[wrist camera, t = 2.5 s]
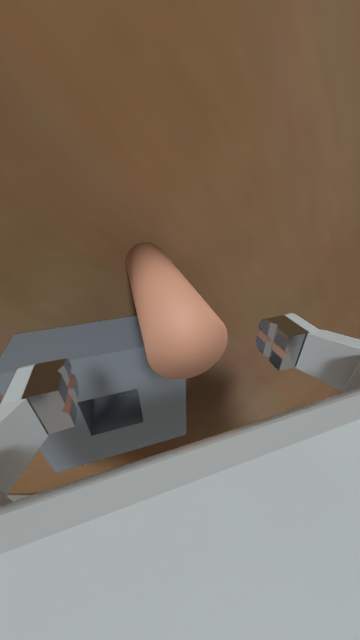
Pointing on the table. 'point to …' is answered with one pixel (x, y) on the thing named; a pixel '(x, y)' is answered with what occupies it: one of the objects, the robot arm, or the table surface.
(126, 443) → the socket block
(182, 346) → the peg
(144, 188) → the table surface
